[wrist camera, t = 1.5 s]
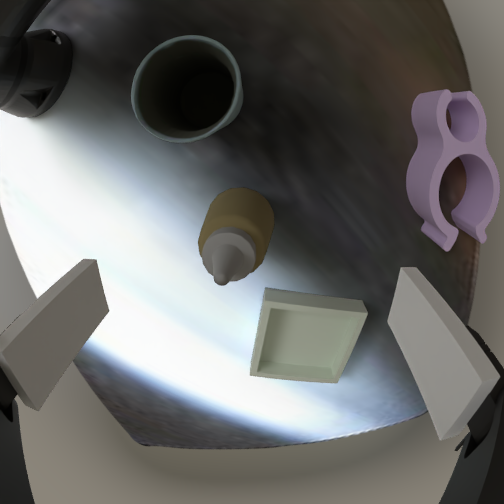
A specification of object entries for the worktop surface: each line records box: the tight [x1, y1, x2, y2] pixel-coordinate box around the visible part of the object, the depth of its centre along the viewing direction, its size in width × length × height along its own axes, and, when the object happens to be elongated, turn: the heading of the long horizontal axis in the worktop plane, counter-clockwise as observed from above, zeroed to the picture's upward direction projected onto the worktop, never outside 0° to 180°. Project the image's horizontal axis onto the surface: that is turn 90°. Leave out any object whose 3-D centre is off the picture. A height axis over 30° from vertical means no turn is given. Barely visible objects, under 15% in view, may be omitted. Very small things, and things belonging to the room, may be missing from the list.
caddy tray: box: [250, 288, 368, 383], centre depth 44 cm, size 15×15×4 cm
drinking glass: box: [131, 35, 243, 143], centre depth 27 cm, size 10×10×12 cm
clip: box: [406, 89, 500, 251], centre depth 30 cm, size 20×12×7 cm, turn 12°
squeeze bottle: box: [198, 187, 274, 286], centre depth 30 cm, size 8×8×18 cm
